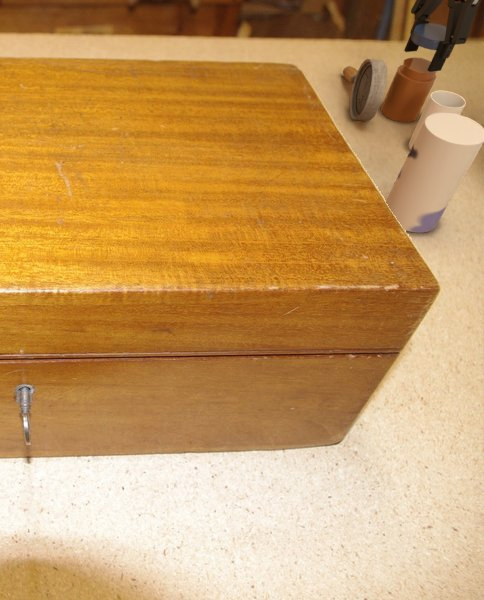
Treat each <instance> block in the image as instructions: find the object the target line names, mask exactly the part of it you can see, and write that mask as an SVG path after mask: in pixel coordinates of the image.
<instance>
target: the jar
mask: <svg viewBox="0 0 484 600" xmlns="http://www.w3.org/2000/svg"><path fill="white" fill-rule="evenodd" d="M431 61H432V60H431ZM431 61H430V60H429V59H425V58H422V57H408V58H405V59H404V60H403V63H402V64H401V65H399V66H398V67H397V69H396V71H395V74H394V76H393V79H392V81H391V83H390V85H389V88H388V90H387V91H386V95H385V97H384V98H383V101H382V103H381V105H380V112H381V114H382V115H383V116H384V117H386V118H387V119H390V120H392V121H394V122H399V123H411V122H414V121H416V120H417V119H418V117H419V114H420V112H421V111H422V109H423V106H424V104H425V102H426V100H427V98H428V96H429V93H430V92H431V90H432V87H433V85H434V84H435V80H436V79H437V75H436V73H437V71H433V72H429V71H428V68H429V65H430V63H431Z"/></svg>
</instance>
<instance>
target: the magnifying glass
mask: <svg viewBox="0 0 484 600" xmlns="http://www.w3.org/2000/svg"><path fill="white" fill-rule="evenodd" d="M342 75H343V77H344V79H345V80H346V81H347V82H348V83H350V84H352V87H351V93H350V99H349V115H350V117H351V119H352V120H355V121H361V122H362V121H363V122H370V121H372V120H373V119H374V117H375V116H376V115H377V113H378V111H379V110H380V108H381V106H382V103H383V100H384V96H385V92H386V88H387V81H388V67H387V64H386V62H385V60H382V59H375V58H374V59H373V58H367V59H365V60H364V61H363V62H361V64H360V66H359V68H358V69H356V67H353V66H351V65H347V66H345V67H344V68H343V70H342Z"/></svg>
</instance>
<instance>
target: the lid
mask: <svg viewBox="0 0 484 600" xmlns="http://www.w3.org/2000/svg"><path fill="white" fill-rule="evenodd" d="M446 27H447V26H446V25H442V24H438V23H433V22H429V23H423V24H419V25H417V26H416V27H415V29H414V30H413V33H412V35H411V34H410V35H411V40H412V41H413V42H414V43H415V44H416V45H418V46H419V47H420V48H423V49H426V50H431V51H436V50H437V48H438V46H439V44H440V41H445V34H446ZM452 37H453V36H452Z"/></svg>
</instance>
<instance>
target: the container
mask: <svg viewBox="0 0 484 600" xmlns="http://www.w3.org/2000/svg"><path fill="white" fill-rule="evenodd" d="M483 145H484V127H483V126H482V124H480V123H479V122H477V121H475V120H474V119H472V118H470V117H467V116H465V115H462V114H460V115H459V114H454V113H435V114H432V115H429V116H428V117H427V118H426V119H425V122H424V124H423V126H422V128H421V130H420V132H419V134H418V136H417V138H416V140H415V142H414V144H413V146H412V149H411V150H410V151H409V153H408V154H407V156H406V158H405V160H404V163H403V165H402V166H401V169H400V170H399V173H398V174H397V177H396V179H395V181H394V182H393V185H392V187H391V188H390V191H389V192H388V195H387V197H386V199H385V201H386V203H387V204H388V206H389V208H390V209H391V211H392V212H393V214H394V215H395V216H396V218H397V220H398V221H399V222H400V224H401V225H402V227H403V229H404V231H406V232H410V233H411V232H412V233H427V232H430V231H432V230H434V229H435V228H436V226H437V225H438V223H439V221H440V220H441V218H442V216H443V214H444V213H445V211H446V209H447V208H448V205H449V204H450V202H451V201H452V199H453V197H454V195H455V194H456V192H457V190H458V188H459V186H460V185H461V183H462V181H463V180H464V178H465V176H466V174H467V173H468V171H469V169H470V168H471V166H472V164H473V162H474V161H475V159H476V158H477V156H478V153H479V152H480V150H481V148H482V147H483ZM403 229H402V230H403Z"/></svg>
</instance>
